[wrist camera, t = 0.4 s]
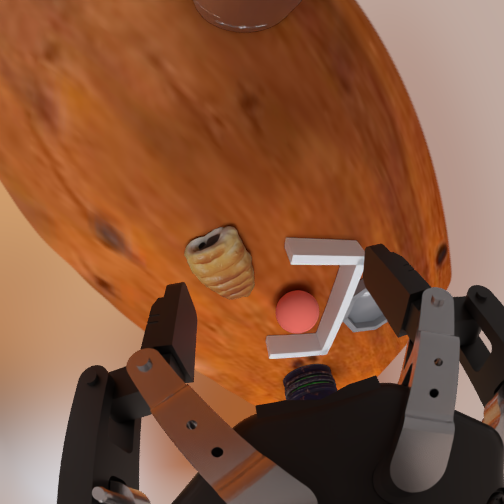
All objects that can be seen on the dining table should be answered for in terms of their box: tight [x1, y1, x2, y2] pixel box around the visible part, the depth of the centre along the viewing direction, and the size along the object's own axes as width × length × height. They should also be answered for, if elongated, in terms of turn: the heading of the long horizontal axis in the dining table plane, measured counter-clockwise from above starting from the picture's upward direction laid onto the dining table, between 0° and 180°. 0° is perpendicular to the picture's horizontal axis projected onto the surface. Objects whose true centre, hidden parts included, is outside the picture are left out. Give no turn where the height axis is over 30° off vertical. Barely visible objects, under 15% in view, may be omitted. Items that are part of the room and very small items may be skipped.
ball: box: [276, 290, 319, 333], centre depth 34 cm, size 6×6×6 cm
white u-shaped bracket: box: [266, 238, 365, 359], centre depth 35 cm, size 18×9×4 cm, turn 175°
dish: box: [343, 279, 387, 332], centre depth 38 cm, size 10×10×2 cm
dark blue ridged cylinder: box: [283, 364, 337, 400], centre depth 43 cm, size 10×10×15 cm
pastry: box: [185, 226, 254, 299], centre depth 31 cm, size 9×7×4 cm
